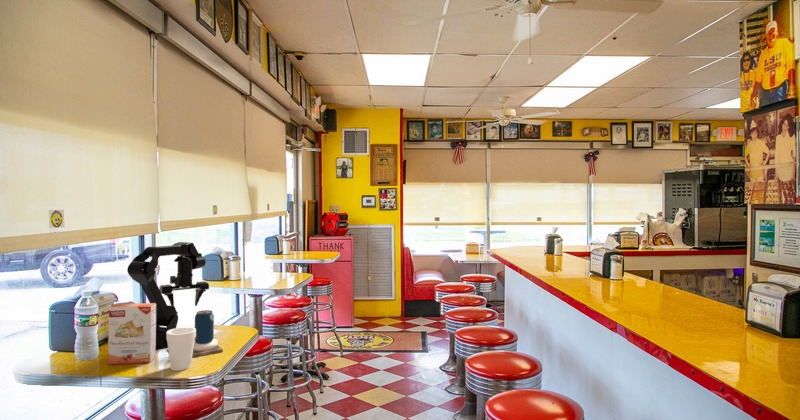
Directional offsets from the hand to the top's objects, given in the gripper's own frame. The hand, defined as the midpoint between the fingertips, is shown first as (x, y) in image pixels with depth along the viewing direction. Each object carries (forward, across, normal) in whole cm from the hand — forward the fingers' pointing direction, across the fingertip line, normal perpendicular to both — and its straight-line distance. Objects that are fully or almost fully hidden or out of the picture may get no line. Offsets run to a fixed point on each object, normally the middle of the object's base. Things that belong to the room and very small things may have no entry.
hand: (184, 307), depth 191 cm
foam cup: (+13, +10, +37) cm, 41 cm away
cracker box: (+13, +22, +20) cm, 33 cm away
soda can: (+10, -2, +22) cm, 24 cm away
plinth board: (+13, +1, +21) cm, 25 cm away
